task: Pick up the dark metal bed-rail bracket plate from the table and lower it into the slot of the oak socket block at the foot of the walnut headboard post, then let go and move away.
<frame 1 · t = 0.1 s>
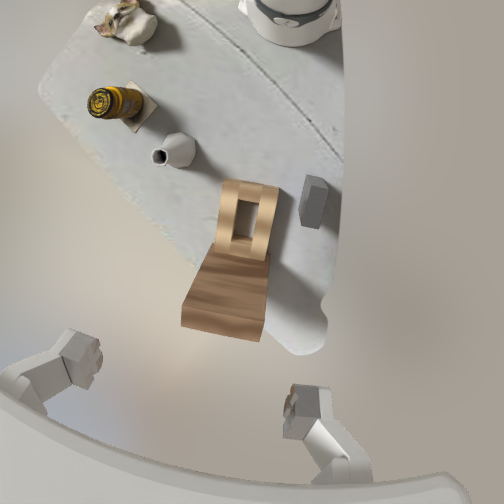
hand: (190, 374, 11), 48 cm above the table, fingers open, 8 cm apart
headboard post: (246, 216, 59), on the table
condiment: (133, 106, 51), on the table
ceramic sculpture: (134, 25, 43), on the table
rail bracket: (310, 193, 56), on the table
flask: (179, 149, 54), on the table
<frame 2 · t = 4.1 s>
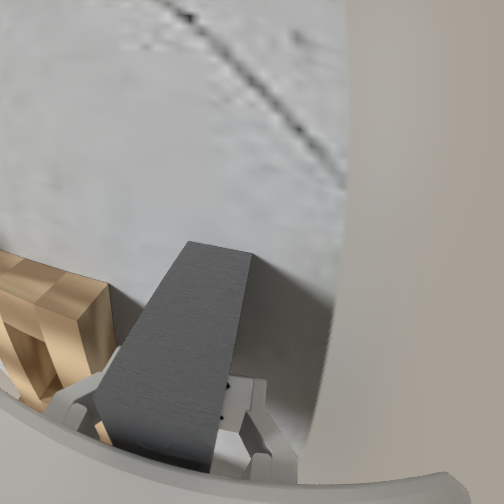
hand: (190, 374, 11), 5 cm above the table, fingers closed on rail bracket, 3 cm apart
headboard post: (64, 345, 18), on the table
rail bracket: (212, 307, 15), on the table, touching gripper
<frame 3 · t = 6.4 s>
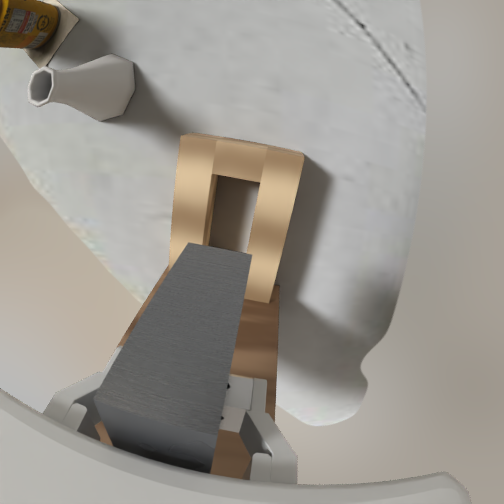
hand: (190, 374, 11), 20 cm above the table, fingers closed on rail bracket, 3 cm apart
headboard post: (233, 212, 29), on the table
condiment: (46, 30, 20), on the table
rail bracket: (212, 308, 15), point 15 cm above the table, touching gripper
flask: (107, 87, 24), on the table
when the fingers open (6 cm above the table, at t = 8.7 s): rail bracket drops 2 cm, resting in headboard post.
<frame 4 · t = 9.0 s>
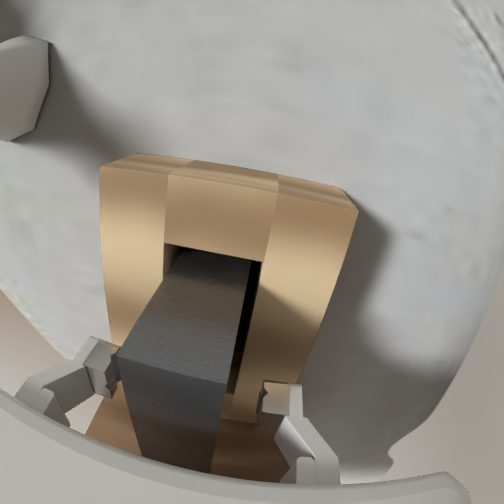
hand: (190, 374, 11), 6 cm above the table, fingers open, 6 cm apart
headboard post: (217, 292, 17), on the table
rail bracket: (217, 292, 17), resting in headboard post
flask: (18, 87, 12), on the table
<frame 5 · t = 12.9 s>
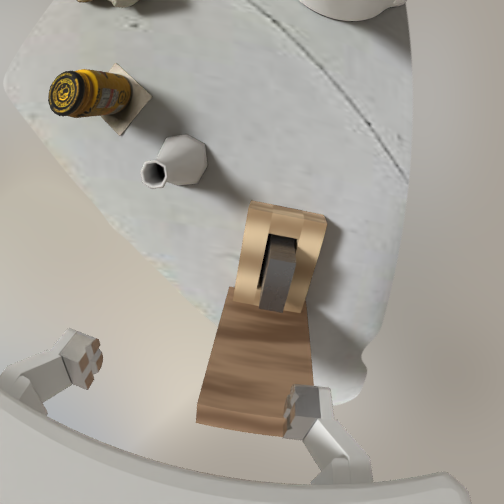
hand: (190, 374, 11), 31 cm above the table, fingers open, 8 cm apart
headboard post: (277, 253, 43), on the table
condiment: (118, 98, 35), on the table
rail bracket: (277, 253, 43), resting in headboard post
flask: (183, 159, 38), on the table
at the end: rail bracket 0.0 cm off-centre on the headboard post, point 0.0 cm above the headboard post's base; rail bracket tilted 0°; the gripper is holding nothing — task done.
